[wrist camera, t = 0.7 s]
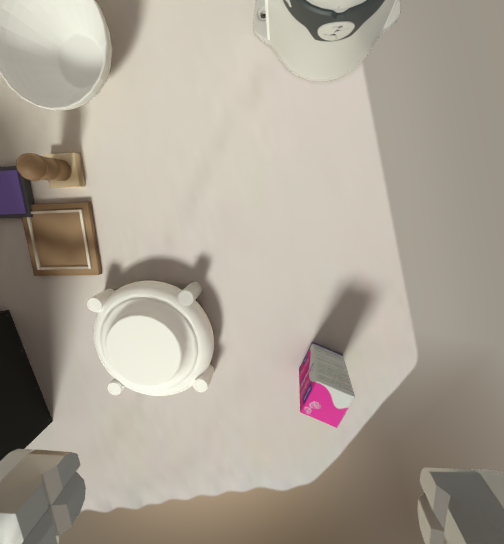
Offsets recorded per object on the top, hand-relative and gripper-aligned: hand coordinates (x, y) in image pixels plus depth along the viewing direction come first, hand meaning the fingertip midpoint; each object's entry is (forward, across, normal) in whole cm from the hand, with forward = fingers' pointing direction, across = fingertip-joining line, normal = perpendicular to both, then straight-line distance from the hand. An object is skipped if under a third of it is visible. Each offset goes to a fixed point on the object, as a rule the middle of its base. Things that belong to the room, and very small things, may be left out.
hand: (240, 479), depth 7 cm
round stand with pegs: (+44, +22, +17) cm, 52 cm away
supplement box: (+43, -6, +22) cm, 49 cm away
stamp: (+44, +33, -12) cm, 56 cm away
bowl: (+44, +28, -26) cm, 58 cm away
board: (+43, +37, -1) cm, 57 cm away
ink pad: (+43, +44, -9) cm, 63 cm away
